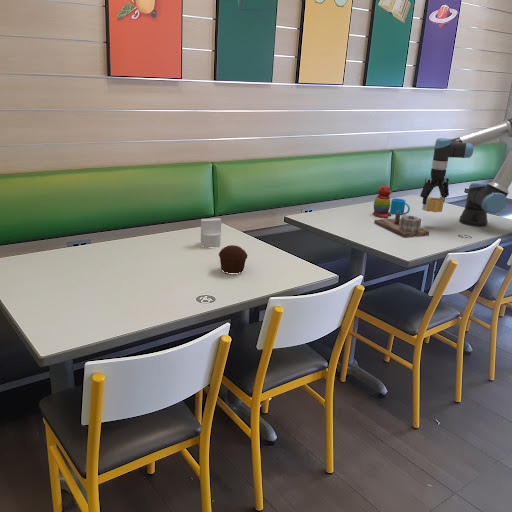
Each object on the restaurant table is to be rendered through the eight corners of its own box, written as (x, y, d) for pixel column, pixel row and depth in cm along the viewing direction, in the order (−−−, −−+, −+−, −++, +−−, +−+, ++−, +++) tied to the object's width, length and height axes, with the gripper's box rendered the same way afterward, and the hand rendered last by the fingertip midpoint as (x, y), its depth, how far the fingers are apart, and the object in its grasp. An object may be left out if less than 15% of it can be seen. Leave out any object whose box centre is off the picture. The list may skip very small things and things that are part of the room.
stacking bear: (386, 219, 290) (391, 188, 284) (369, 215, 295) (373, 185, 289) (392, 215, 299) (396, 185, 293) (375, 212, 304) (379, 182, 298)
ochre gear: (433, 207, 281) (435, 196, 279) (446, 211, 272) (447, 200, 270) (418, 208, 277) (420, 197, 275) (431, 212, 269) (433, 201, 267)
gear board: (397, 221, 287) (400, 206, 284) (428, 235, 264) (431, 218, 261) (374, 223, 281) (376, 207, 278) (403, 237, 258) (406, 220, 255)
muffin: (252, 271, 204) (254, 247, 200) (233, 278, 196) (234, 253, 192) (231, 263, 211) (232, 240, 208) (212, 269, 203) (212, 245, 200)
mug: (387, 212, 304) (389, 199, 301) (394, 210, 310) (395, 197, 307) (405, 217, 297) (407, 203, 294) (411, 215, 302) (414, 201, 299)
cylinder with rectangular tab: (217, 241, 237) (217, 216, 233) (223, 247, 229) (223, 221, 225) (198, 242, 234) (198, 217, 230) (203, 248, 226) (204, 222, 222)
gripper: (450, 166, 275) (443, 206, 282) (417, 167, 266) (410, 209, 274) (460, 168, 268) (453, 209, 276) (426, 170, 260) (420, 212, 267)
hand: (432, 209), depth 275 cm, fingers closed on ochre gear, 10 cm apart
